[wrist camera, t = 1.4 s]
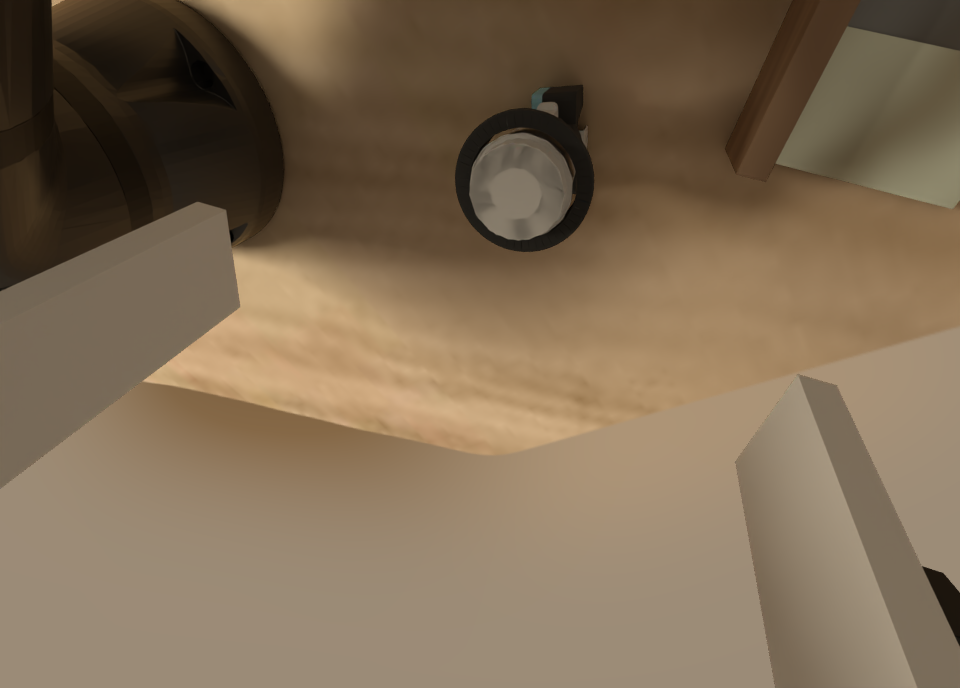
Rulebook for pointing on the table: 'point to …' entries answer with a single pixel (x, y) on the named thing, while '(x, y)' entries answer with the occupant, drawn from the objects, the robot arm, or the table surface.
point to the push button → (528, 173)
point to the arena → (860, 98)
